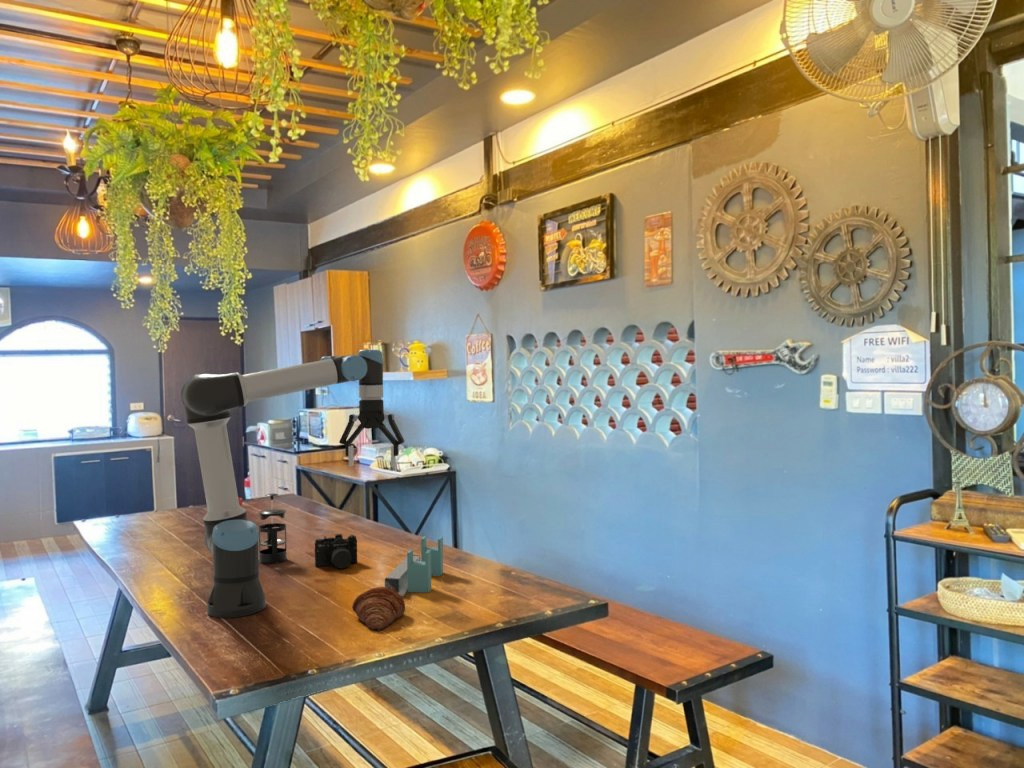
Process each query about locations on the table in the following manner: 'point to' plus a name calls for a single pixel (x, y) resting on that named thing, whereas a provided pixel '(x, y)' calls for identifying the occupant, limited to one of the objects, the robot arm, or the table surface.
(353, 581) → the table surface
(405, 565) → the rail
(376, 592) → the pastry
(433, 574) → the post
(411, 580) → the post
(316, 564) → the camera
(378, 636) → the table surface
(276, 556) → the french press
